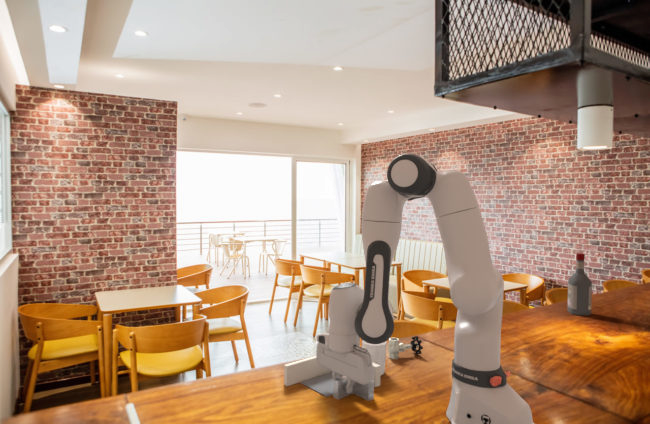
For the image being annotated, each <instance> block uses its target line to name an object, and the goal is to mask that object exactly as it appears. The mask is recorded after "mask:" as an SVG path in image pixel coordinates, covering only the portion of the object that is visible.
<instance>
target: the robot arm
mask: <svg viewBox="0 0 650 424" xmlns="http://www.w3.org/2000/svg"><path fill="white" fill-rule="evenodd" d="M386 177H387V178H386V180H377V181H373V182H372V183H371V184H369V185H368V186H367V189H366V192H365V196H364V200H363V206H362V210H361V211H362V213H361V224H360V225H361V240H362V248H363V255H364V261H365V278H364V288H363V287H361V286H360V285H359V284H357V283H354V282H346V283H340V284H338V285H335V286H334V287H333V288H332V289H331V291H330V294H329V298H328V318H329V326H328V331H327V332H322V333H320V334H317V335H316V342H317V344H316V352H315V353H316V355H315V356H316V359H317V362H318V364H319V365H320V366H322V367H325V368H327V369H329V370H331V371H332V375H333V378H334V379H336V378H339V377H340V375H342V376H344V377H347V381H348V383H347V385H344V388H345V389H344V391H345V392H347V393H350V392H352V386H353V384H354V383H355V382H358V383H360V384H362V385H366V384H368V383H371V382H372V381H373V364H372V359H371V354H370V353H369V352H368V350H367V349H365V348H362V346H361V345H360V344H361V343H360V342H361V341H362V340H363V341H365V342H367V343H370V344H381V343H383V342H385V341H386V342H388V341H389V338H392V335H393V333H394V331H395V322H394V309H393V305H392V303H391V302H390V301H389V294H390V293H389V290H390V276H391V274H390V273H391V267H392V264H393V260H394V257H395V255H396V253H397V252H396V251H397V248H398V246H399V243H400V238H401V232H402V223H403V210H404V206H405V204H406V202H407V201H408V202H409V201H413V200H416V199H422V198H425V197H426V198H427V199H428V200H429V202H430V204H431V206H432V210H433V212H434V215H435V216H434V217H435V219H436V224H437V227H438V231H439V235H440V238H441V242H442V246H443V250H444V259H445V265H446V273H447V279H448V284H449V295H450V300H451V301H452V303H453V306H455V309H456V308H457V313H456V319H455V326H454V333H453V334H454V337H453V339H454V341H453V342H454V343H453V359H452V361H451V378H452V385H451V386H452V387H451V393H450V399H449V403H448V406H447V409H446V411H445V412H446V413H445V415H446V417H447V418H448V420H449V421H450V424H536V423H534V421H533V419H534V418H533V414H532V410H531V407H530V405H529V403H528V402H526V400H524V399H523V398H522V397H521V396H520V395H519V394H518V392H516V390H514V388H513V387H512V386H510V384H509V383H508V380H507V379H508V378H509V377H510V376H511V371H510V370H508V371H506V372H505V371H504V369H503V367H502V365H501V342H502V341H501V339H502V338H501V337H502V336H501V335H502V333H501V332H502V324H503V323H502V322H503V307H504V291H505V290H504V288H505V282H504V277H503V275H502V274H501V272H500V271H499V269H497V268H496V267H495V266H494V264H493V261H492V256H491V250H490V244H489V237H488V233H487V231H486V230H487V229H486V227H485V223H484V219H483V216H482V212H481V209H480V206H479V203H478V199H477V197H476V194H475V191H474V189H473V187H472V185H471V183H470V181H469V179H468V176H467V175H466V174H465V173H464V172H462V171H460V170H454V169H453V170H445V171H438V169H437V167H436V166H435V165H434V164H433V163H431V162H430V161H429V160H428V159H427V158H426V157H423V156H420V155H418V154H414V153H403V154H400V155H397V156H396V157H394V159H392V160H391V162H390V163H389V165H388V167H387V170H386ZM360 339H361V340H360ZM339 374H340V375H339Z"/></svg>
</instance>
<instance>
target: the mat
mask: <svg viewBox="0 0 650 424" xmlns="http://www.w3.org/2000/svg"><path fill="white" fill-rule="evenodd" d="M339 375H340V374H339ZM340 377H342V375H340ZM333 379H334V378H333V375H332V372H329V373H326V374H323V375H320V376H317V377H314V378H311V379H308V380H305V381H302V382H300V384H301V385H303V386H305V387H307V388H309V389H310V390H313V391H314V392H316V393H318V394H319V395H322V396H324V397H326V398H328V397H331V396H333Z"/></svg>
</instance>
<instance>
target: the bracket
mask: <svg viewBox="0 0 650 424" xmlns="http://www.w3.org/2000/svg"><path fill="white" fill-rule="evenodd" d="M347 383H348V381H347V377H344V376H342V377H339V378H336V379H333V395H332V397H333V398H334V399H336V400H341V399H343V398H345V397H348V396H351V395H355V396H358V397H360V398H362V399H364V400H366V401H368V402H370V401H372V400H374V397H375V395H374V394H375V391H374V390H375V387H374V381H372V382H371V383H368V384H366V385H362V384H360V383H358V382H355V383H354V384H353V386H352V392H350V393H347V392H345V391H344V389H345V388H344V385H347Z"/></svg>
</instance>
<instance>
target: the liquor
mask: <svg viewBox="0 0 650 424" xmlns="http://www.w3.org/2000/svg"><path fill="white" fill-rule="evenodd" d="M585 257H586V255H585V253H580V252H579V253H577V252H576V257H575V260H576V266H575V267H576V268H575V272H574V273H573V274H572V275H570V276H569V278H568V279H567V280H568V281H567V306H566V307H567V308H566V309H567V312H568V313H570V315H575V316H586V317H589V316H591V314H592V298H593V297H592V294H593V293H592V291H593V289H592V288H593V283H592V280H591V279H590V277H589V276H587V274H586V272H585V259H586V258H585Z"/></svg>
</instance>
